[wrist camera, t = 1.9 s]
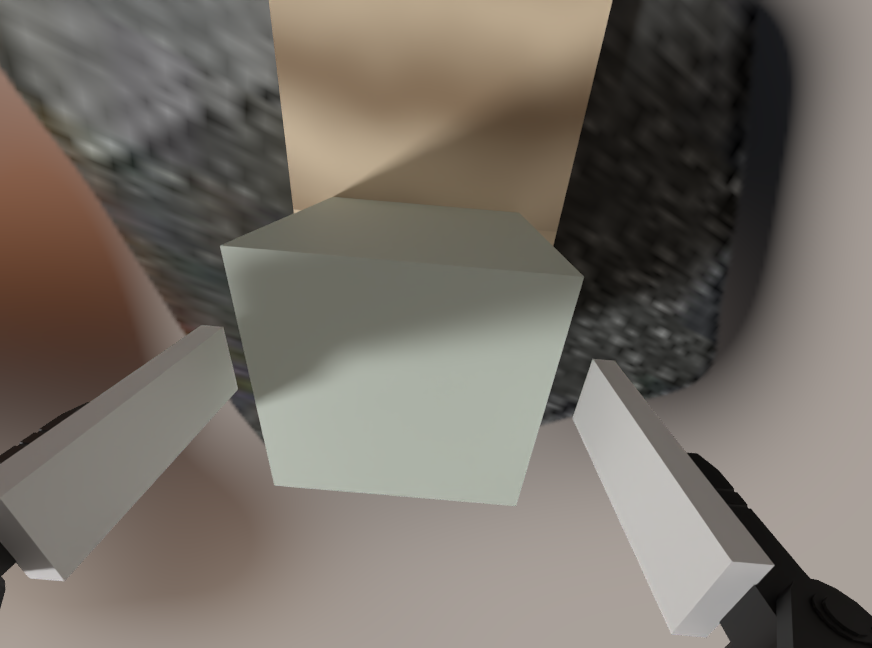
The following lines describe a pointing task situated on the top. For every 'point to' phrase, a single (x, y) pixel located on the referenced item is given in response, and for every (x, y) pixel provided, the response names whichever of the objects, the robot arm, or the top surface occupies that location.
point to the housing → (401, 345)
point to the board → (437, 100)
